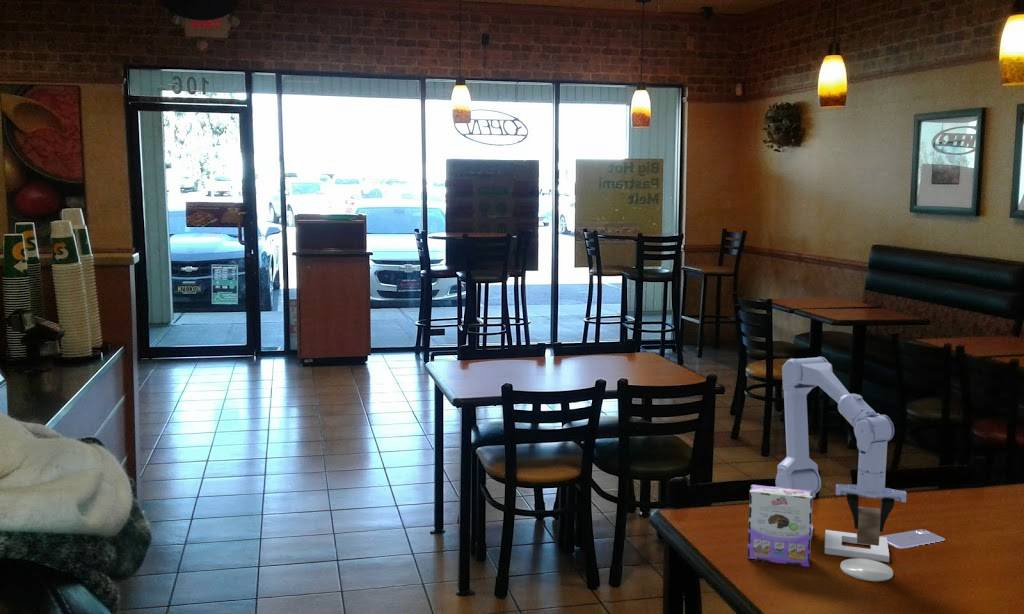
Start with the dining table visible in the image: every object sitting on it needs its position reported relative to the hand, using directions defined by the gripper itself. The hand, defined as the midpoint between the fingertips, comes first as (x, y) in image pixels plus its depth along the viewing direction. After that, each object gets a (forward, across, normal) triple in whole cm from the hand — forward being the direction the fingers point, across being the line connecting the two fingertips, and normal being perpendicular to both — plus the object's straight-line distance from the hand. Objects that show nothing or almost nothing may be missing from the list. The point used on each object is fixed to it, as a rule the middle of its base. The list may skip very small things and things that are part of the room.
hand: (868, 528), depth 203 cm
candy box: (+10, -19, -1) cm, 21 cm away
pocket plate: (+9, -2, +12) cm, 16 cm away
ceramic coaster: (+10, 0, -1) cm, 10 cm away
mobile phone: (+10, +11, +23) cm, 28 cm away
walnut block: (+3, 0, 0) cm, 3 cm away
